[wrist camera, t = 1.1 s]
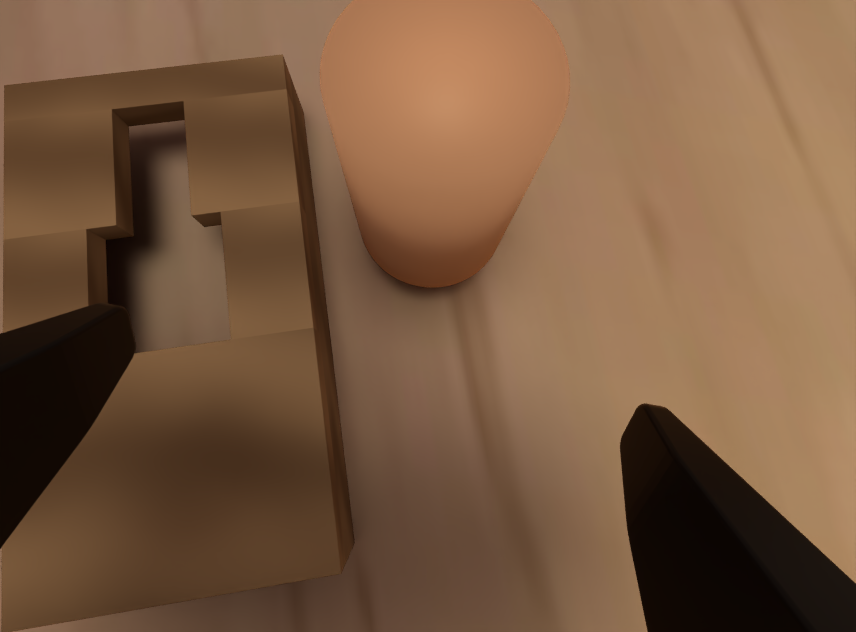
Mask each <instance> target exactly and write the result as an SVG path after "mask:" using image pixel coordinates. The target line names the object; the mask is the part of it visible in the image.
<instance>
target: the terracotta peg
mask: <svg viewBox="0 0 856 632" xmlns="http://www.w3.org/2000/svg"><path fill="white" fill-rule="evenodd" d="M320 88H321V93H322V98H323V103H324V106H325V110H326V113H327V117H328V120H329V124H330V127H331V131H332V134H333V138H334V141H335V145H336V148H337V152H338V155H339V159H340V162H341V166H342V169H343V173H344V176H345V180H346V183H347V187H348V190H349V194H350V197H351V201H352V204H353V208H354V211H355V215H356V218H357V222H358V225H359V229H360V232H361V236H362V239H363V241H364V244H365V246H366V248H367V250H368V252H369V254H370V255H371V257H372V258H373V259H374V261H375V262H376V263H377V264H378V265H379V266H380V267H381V268H382V269H383V270H384V271H386V272H387V273H388V274H390V275H391V276H393V277H394V278H396V279H398V280H400V281H403V282H405V283H408V284H411V285H415V286H420V287H432V288H434V287H444V286H449V285H453V284H456V283H459V282H462V281H464V280H466V279H468V278H470V277H471V276H472V275H474V274H475V273H477V272H478V271H479V270H480V269H481V268H483V267H484V266H485V264H486V263H487V262H488V261H489V260H490V258H491V257H492V255H493V254H494V252H495V250H496V248H497V246H498V245H499V243H500V241H501V239H502V237H503V235H504V233H505V231H506V229H507V227H508V225H509V223H510V221H511V219H512V218H513V216H514V214H515V212H516V210H517V208H518V206H519V204H520V202H521V200H522V198H523V196H524V194H525V193H526V191H527V189H528V187H529V185H530V183H531V181H532V179H533V177H534V175H535V173H536V171H537V169H538V167H539V166H540V164H541V162H542V160H543V158H544V156H545V154H546V152H547V150H548V148H549V146H550V144H551V142H552V141H553V139H554V137H555V135H556V133H557V131H558V129H559V127H560V124H561V122H562V120H563V118H564V115H565V112H566V108H567V105H568V100H569V92H570V71H569V65H568V59H567V56H566V53H565V49H564V46H563V44H562V42H561V39H560V37H559V35H558V33H557V31H556V30H555V28H554V26H553V25H552V23H551V22H550V20H549V19H548V18H547V16H546V15H545V14H544V13H543V12H542V11H541V9H540V8H539V7H538V6H537V5H536V4H535V3H533V2H532V1H531V0H353V1H352V2H351V3H350V4H349V5H348V6H347V7H346V8H345V10H344V11H343V12H342V13H341V15H340V16H339V17H338V18H337V20H336V22H335V24H334V25H333V27H332V29H331V30H330V33H329V35H328V37H327V40H326V42H325V45H324V49H323V53H322V57H321V65H320Z"/></svg>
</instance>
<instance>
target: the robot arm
mask: <svg viewBox="0 0 856 632" xmlns="http://www.w3.org/2000/svg"><path fill="white" fill-rule="evenodd" d="M135 349H136V344H135V339H134V334H133V330H132V325H131V321H130V317H129V313H128V311H127V310H126V309H125V308H124V307H122V306H118V305H113V304H108V303H96V304H92V305H89V306H86V307H83V308H80V309H77V310H74V311H70V312H67V313H64V314H61V315H58V316H55V317H51V318H48V319H45V320H42V321H39V322H36V323H32V324H29V325H26V326H23V327H20V328H17V329H14V330H10V331H7V332H4V333H1V334H0V549H1V547H2V546H3V545H4V543H5V542H6V541H7V539H8V538H9V537H10V535H11V534H12V533H13V531H14V530H15V529H16V527H17V526H18V525H19V523H20V522H21V521H22V519H23V518H24V517H25V515H26V514H27V513H28V511H29V510H30V509H31V507H32V506H33V505H34V503H35V502H36V501H37V499H38V498H39V497H40V495H41V494H42V493H43V491H44V490H45V489H46V487H47V486H48V485H49V483H50V482H51V481H52V480H53V478H54V477H55V476H56V474H57V473H58V472H59V470H60V469H61V468H62V466H63V465H64V464H65V462H66V461H67V460H68V458H69V457H70V456H71V454H72V453H73V452H74V450H75V449H76V448H77V446H78V445H79V444H80V442H81V441H82V439H83V438H84V437H85V435H86V434H87V432H88V431H89V430H90V428H91V427H92V425H93V423H94V422H95V420H96V419H97V417H98V416H99V414H100V412H101V410H102V409H103V407H104V405H105V404H106V402H107V400H108V399H109V397H110V395H111V394H112V392H113V390H114V389H115V387H116V385H117V384H118V382H119V380H120V379H121V377H122V375H123V374H124V372H125V370H126V369H127V367H128V365H129V364H130V362H131V360H132V358H133V356H134V354H135ZM620 453H621V465H622V476H623V488H624V500H625V511H626V521H627V530H628V536H629V541H630V547H631V552H632V556H633V561H634V566H635V571H636V576H637V581H638V586H639V591H640V596H641V601H642V606H643V611H644V616H645V621H646V626H647V631H648V632H856V583H855V582H853V581H852V580H851V579H850V578H849V577H848V576H847V575H846V574H845V573H844V572H843V571H842V570H841V569H839V568H838V567H837V566H836V565H835V564H834V563H833V562H832V561H831V560H830V559H829V558H828V557H827V556H825V555H824V554H823V553H822V552H821V551H820V550H819V549H818V548H817V547H816V546H815V545H814V544H813V543H811V542H810V541H809V540H808V539H807V538H806V537H805V536H804V535H803V534H802V533H801V532H800V531H799V530H797V529H796V528H795V527H794V526H793V525H792V524H791V523H790V522H789V521H788V520H787V519H786V518H785V517H784V516H782V515H781V514H780V513H779V512H778V511H777V510H776V509H775V508H774V507H773V506H772V505H771V504H770V503H768V502H767V501H766V500H765V499H764V498H763V497H762V496H761V495H760V494H759V493H758V492H757V491H756V490H754V489H753V488H752V487H751V486H750V485H749V484H748V483H747V482H746V481H745V480H744V479H743V478H742V477H740V476H739V475H738V474H737V473H736V472H735V471H734V470H733V469H732V468H731V467H730V466H729V465H728V464H726V463H725V462H724V461H723V460H722V459H721V458H720V457H719V456H718V455H717V454H716V453H715V452H714V451H712V450H711V449H710V448H709V447H708V446H707V445H706V444H705V443H704V442H703V441H702V440H701V439H700V438H699V437H697V436H696V435H695V434H694V433H693V432H692V431H691V430H690V429H689V428H688V427H687V426H686V425H685V424H683V423H682V422H681V421H680V420H679V419H678V418H677V417H676V416H675V415H674V414H673V413H672V412H671V411H669V410H668V409H667V408H665V407H662V406H657V405H651V404H641V405H639V406H638V407H637V409H636V410H635V412H634V414H633V416H632V418H631V420H630V422H629V424H628V425H627V427H626V429H625V431H624V433H623V435H622V438H621V442H620Z"/></svg>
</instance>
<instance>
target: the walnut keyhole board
mask: <svg viewBox="0 0 856 632" xmlns="http://www.w3.org/2000/svg"><path fill="white" fill-rule="evenodd" d="M179 120H185V130H186V145H187V159H188V173H189V188H190V202H191V216H193V217H194V218H195V219H196V220H197V221H198V222H199V223H200V224H202V225H203V226H204V227H208V226H216V225H222V235H223V248H224V260H225V272H226V285H227V297H228V309H229V322H230V334H231V340H224V341H218V342H211V343H204V344H197V345H190V346H183V347H176V348H169V349H162V350H155V351H148V352H141V353H135V354H134V356H133V358H132V360H131V362H130V364H129V365H128V367H127V369H126V370H125V372H124V374H123V375H122V377H121V379H120V380H119V382H118V384H117V385H116V387H115V389H114V390H113V392H112V394H111V395H110V397H109V399H108V400H107V402H106V404H105V405H104V407H103V409H102V410H101V412H100V414H99V416H98V417H97V419H96V420H95V422H94V423H93V425H92V427H91V428H90V430H89V431H88V432H87V434H86V435H85V437H84V438H83V439H82V441H81V442H80V444H79V445H78V446H77V448H76V449H75V450H74V452H73V453H72V454H71V456H70V457H69V458H68V460H67V461H66V462H65V464H64V465H63V466H62V468H61V469H60V470H59V472H58V473H57V474H56V476H55V477H54V478H53V480H52V481H51V482H50V483H49V485H48V486H47V487H46V489H45V490H44V491H43V493H42V494H41V495H40V497H39V498H38V499H37V501H36V502H35V503H34V505H33V506H32V507H31V509H30V510H29V511H28V513H27V514H26V515H25V517H24V518H23V519H22V521H21V522H20V523H19V525H18V526H17V527H16V529H15V530H14V531H13V533H12V534H11V535H10V537H9V538H8V539H7V541H6V542H5V543H4V545H3V546H2V627H1V632H12V631H18V630H23V629H29V628H35V627H40V626H46V625H52V624H58V623H63V622H69V621H75V620H80V619H86V618H92V617H98V616H103V615H109V614H115V613H120V612H126V611H132V610H138V609H143V608H149V607H155V606H160V605H166V604H172V603H178V602H183V601H189V600H195V599H200V598H206V597H212V596H218V595H223V594H229V593H235V592H240V591H246V590H252V589H257V588H263V587H269V586H275V585H280V584H286V583H292V582H297V581H303V580H309V579H315V578H320V577H326V576H332V575H337V574H341V573H342V571H343V568H344V566H345V564H346V561H347V559H348V557H349V555H350V552H351V550H352V548H353V545H354V543H355V542H354V534H353V526H352V517H351V509H350V500H349V492H348V483H347V475H346V466H345V458H344V450H343V441H342V433H341V424H340V416H339V407H338V399H337V390H336V382H335V374H334V365H333V357H332V348H331V340H330V331H329V323H328V314H327V306H326V298H325V289H324V281H323V272H322V264H321V255H320V247H319V239H318V230H317V222H316V213H315V205H314V196H313V188H312V179H311V171H310V163H309V154H308V146H307V137H306V129H305V120H304V112H303V109H302V107H301V104H300V101H299V98H298V96H297V93H296V90H295V87H294V85H293V82H292V79H291V76H290V74H289V71H288V68H287V65H286V62H285V60H284V57H283V55H274V56H265V57H256V58H247V59H238V60H229V61H220V62H211V63H202V64H193V65H184V66H175V67H166V68H157V69H148V70H139V71H130V72H121V73H112V74H103V75H94V76H85V77H76V78H67V79H58V80H49V81H40V82H31V83H22V84H13V85H4V245H3V333H4V332H7V331H10V330H14V329H17V328H20V327H23V326H26V325H29V324H32V323H36V322H39V321H42V320H45V319H48V318H51V317H55V316H58V315H61V314H64V313H67V312H70V311H74V310H77V309H80V308H83V307H86V306H89V305H92V304H96V303H108V295H107V266H106V240H108V239H116V238H124V237H131V236H134V232H133V210H132V189H131V167H130V145H129V126H136V125H145V124H153V123H162V122H170V121H179Z"/></svg>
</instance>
